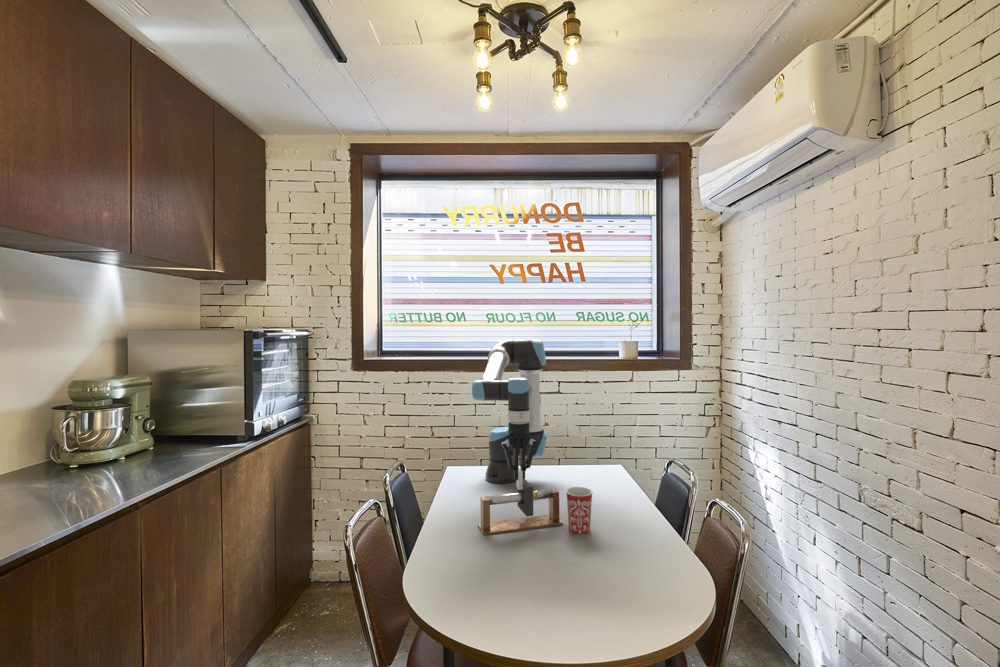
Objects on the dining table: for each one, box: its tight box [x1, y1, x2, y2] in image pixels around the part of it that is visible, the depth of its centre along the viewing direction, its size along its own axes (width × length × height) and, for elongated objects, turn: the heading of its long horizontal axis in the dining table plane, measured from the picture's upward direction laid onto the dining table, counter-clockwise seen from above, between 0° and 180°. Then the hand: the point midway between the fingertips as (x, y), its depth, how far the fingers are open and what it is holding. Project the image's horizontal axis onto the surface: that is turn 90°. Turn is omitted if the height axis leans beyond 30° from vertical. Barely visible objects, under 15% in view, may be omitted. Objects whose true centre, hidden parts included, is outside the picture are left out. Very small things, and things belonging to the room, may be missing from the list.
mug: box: [565, 486, 594, 535], centre depth 166 cm, size 13×9×14 cm
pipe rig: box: [477, 488, 564, 536], centre depth 168 cm, size 29×8×12 cm, turn 106°
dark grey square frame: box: [516, 478, 534, 517], centre depth 169 cm, size 2×10×10 cm, turn 16°
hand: (519, 488), depth 168 cm, fingers closed
